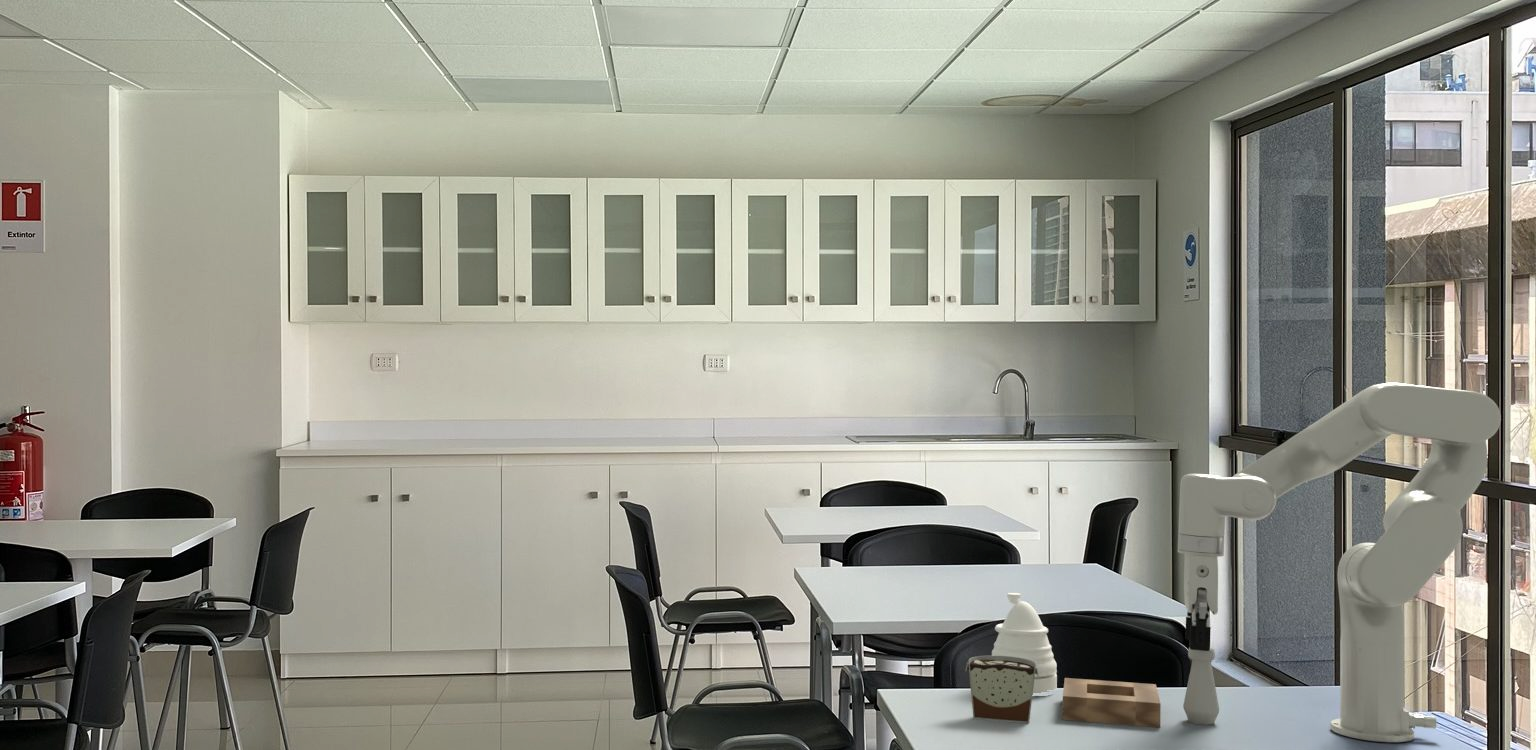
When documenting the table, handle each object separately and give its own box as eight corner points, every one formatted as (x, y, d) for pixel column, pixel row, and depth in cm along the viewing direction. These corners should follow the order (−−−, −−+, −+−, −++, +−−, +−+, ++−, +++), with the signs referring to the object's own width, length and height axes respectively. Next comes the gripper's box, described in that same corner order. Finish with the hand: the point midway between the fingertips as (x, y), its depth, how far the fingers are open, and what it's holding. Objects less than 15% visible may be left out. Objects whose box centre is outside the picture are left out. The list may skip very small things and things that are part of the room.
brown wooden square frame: (1155, 706, 221) (1155, 684, 221) (1160, 727, 205) (1160, 703, 205) (1064, 699, 225) (1064, 677, 225) (1062, 719, 209) (1062, 695, 209)
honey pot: (975, 689, 232) (976, 594, 233) (1008, 679, 242) (1009, 588, 243) (1037, 700, 224) (1038, 601, 225) (1068, 689, 234) (1069, 595, 235)
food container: (1040, 716, 212) (1040, 657, 212) (1038, 724, 206) (1038, 664, 206) (968, 710, 215) (969, 652, 215) (964, 717, 209) (965, 659, 210)
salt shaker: (1221, 727, 206) (1221, 649, 207) (1185, 724, 207) (1186, 647, 208) (1215, 719, 212) (1216, 643, 212) (1181, 716, 213) (1181, 641, 214)
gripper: (1229, 552, 202) (1225, 656, 201) (1218, 542, 218) (1215, 639, 218) (1181, 548, 204) (1177, 651, 203) (1174, 539, 220) (1171, 635, 220)
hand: (1197, 645), depth 210 cm, fingers open, 9 cm apart
